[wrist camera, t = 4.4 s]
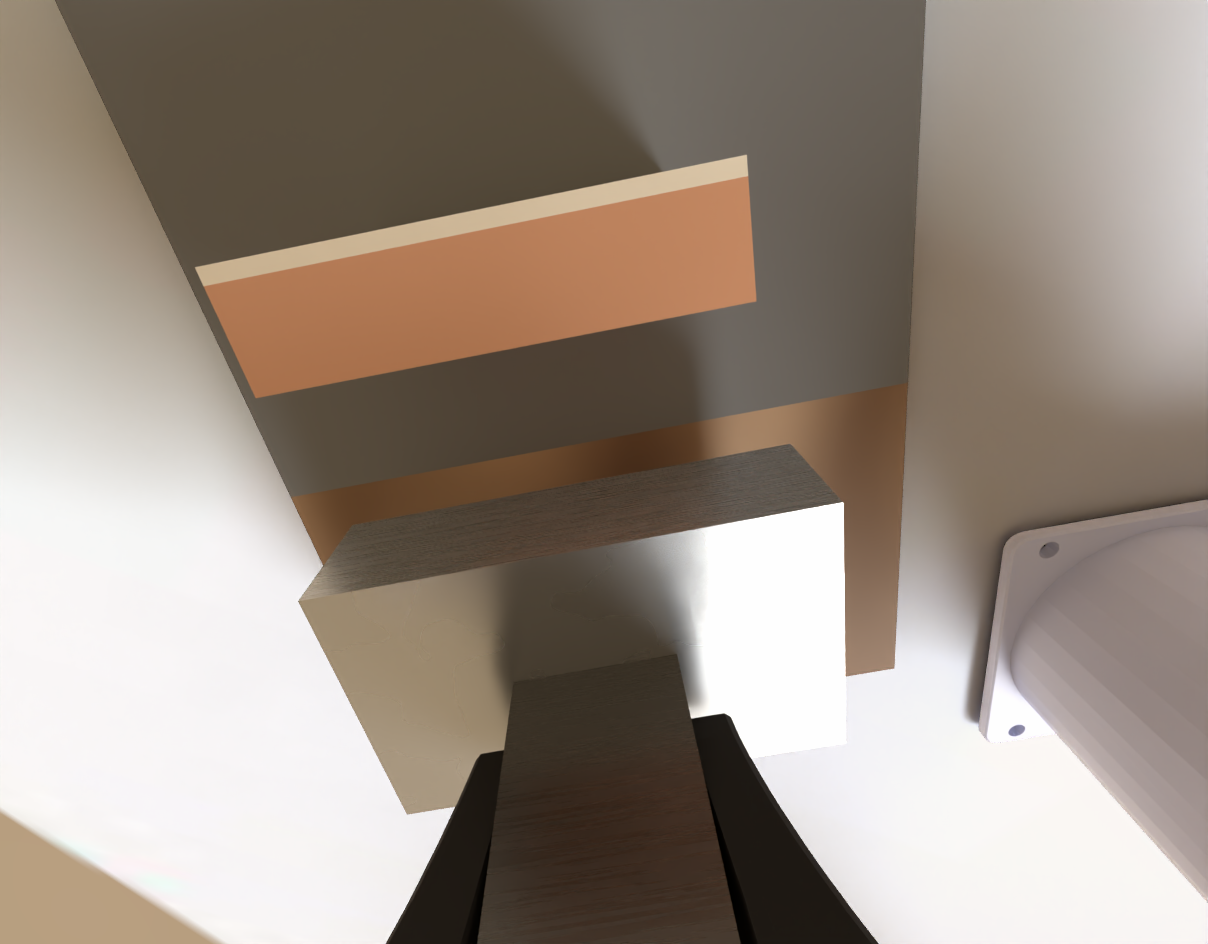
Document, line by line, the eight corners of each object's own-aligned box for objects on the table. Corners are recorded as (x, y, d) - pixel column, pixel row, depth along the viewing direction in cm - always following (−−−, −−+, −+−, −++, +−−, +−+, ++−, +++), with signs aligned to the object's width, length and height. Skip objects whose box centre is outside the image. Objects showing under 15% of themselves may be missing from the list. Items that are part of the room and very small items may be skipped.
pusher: (790, 443, 11) (1166, 862, 4) (801, 653, 14) (1053, 1160, 6) (352, 525, 12) (-14, 1039, 4) (434, 716, 14) (280, 1260, 7)
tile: (666, 177, 11) (745, 154, 6) (675, 256, 12) (756, 301, 7) (373, 237, 12) (195, 267, 6) (398, 311, 12) (254, 397, 7)
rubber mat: (930, -482, 8) (950, -520, 8) (897, 376, 14) (907, 382, 13) (-39, -243, 9) (-72, -266, 8) (299, 487, 14) (290, 497, 14)
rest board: (897, 376, 14) (907, 382, 13) (886, 656, 18) (894, 668, 17) (299, 487, 14) (290, 497, 14) (414, 735, 18) (410, 748, 18)
